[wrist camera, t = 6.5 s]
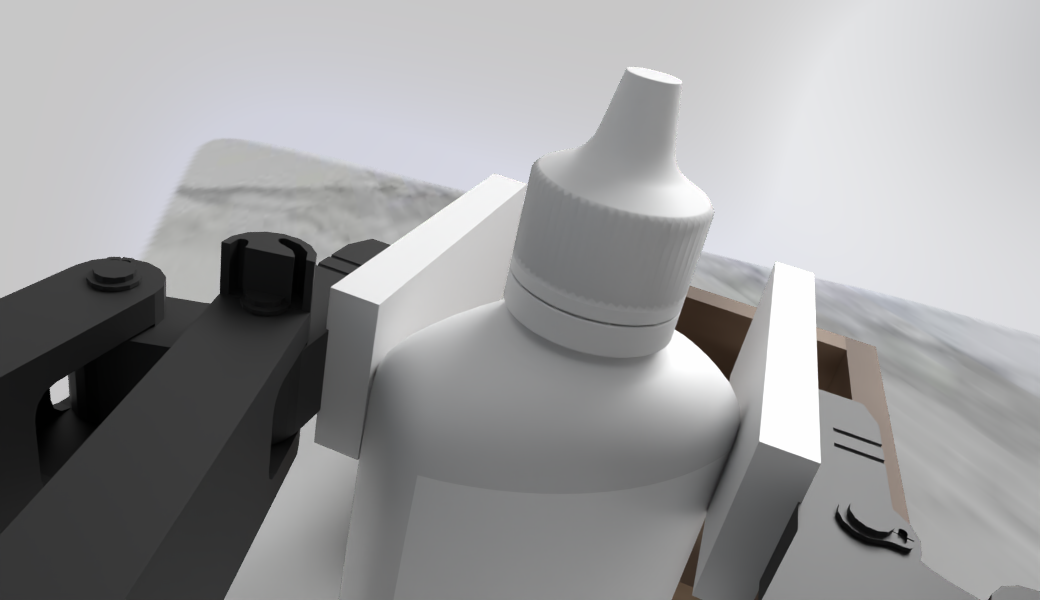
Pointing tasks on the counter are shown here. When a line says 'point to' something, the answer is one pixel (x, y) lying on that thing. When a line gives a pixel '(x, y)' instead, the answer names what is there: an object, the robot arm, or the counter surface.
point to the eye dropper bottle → (556, 395)
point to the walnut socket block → (839, 372)
